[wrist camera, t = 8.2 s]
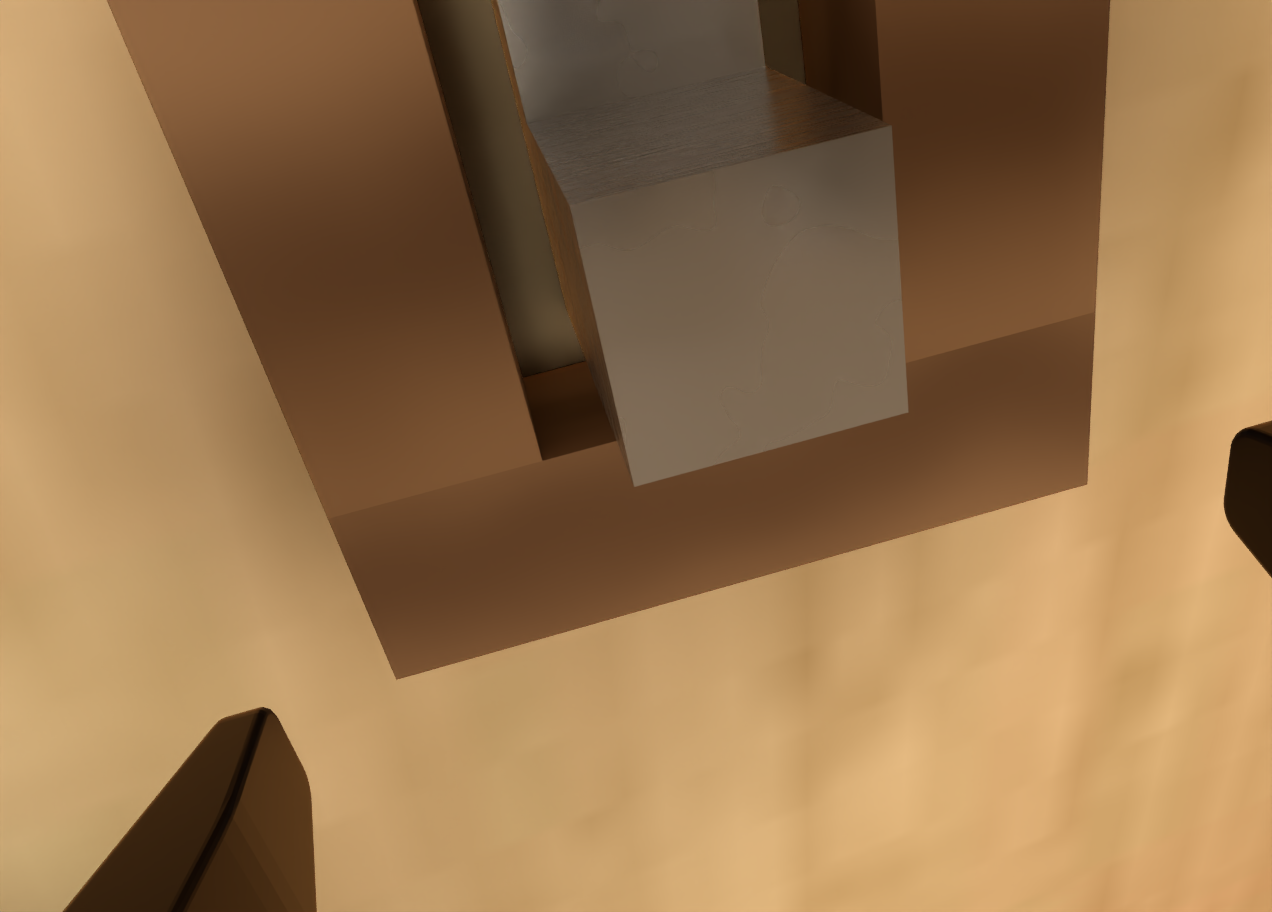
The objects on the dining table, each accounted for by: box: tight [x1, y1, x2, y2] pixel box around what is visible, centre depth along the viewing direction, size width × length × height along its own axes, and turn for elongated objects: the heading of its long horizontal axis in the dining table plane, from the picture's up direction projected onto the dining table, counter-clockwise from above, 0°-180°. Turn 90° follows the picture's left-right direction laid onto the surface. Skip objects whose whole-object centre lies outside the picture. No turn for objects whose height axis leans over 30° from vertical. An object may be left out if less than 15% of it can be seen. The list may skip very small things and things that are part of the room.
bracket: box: [491, 0, 908, 487], centre depth 15 cm, size 6×4×7 cm, turn 11°
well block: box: [107, 0, 1110, 680], centre depth 17 cm, size 16×14×4 cm
